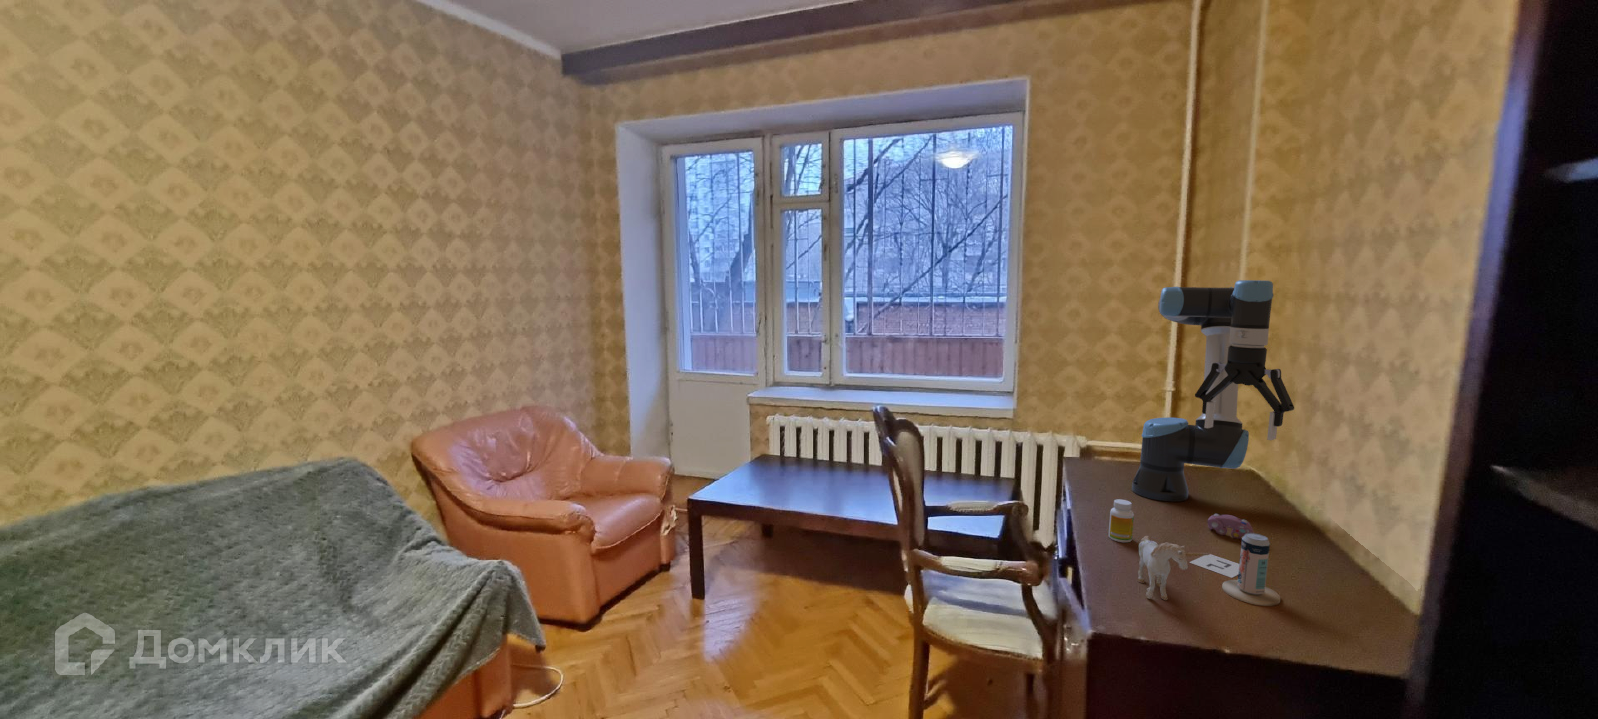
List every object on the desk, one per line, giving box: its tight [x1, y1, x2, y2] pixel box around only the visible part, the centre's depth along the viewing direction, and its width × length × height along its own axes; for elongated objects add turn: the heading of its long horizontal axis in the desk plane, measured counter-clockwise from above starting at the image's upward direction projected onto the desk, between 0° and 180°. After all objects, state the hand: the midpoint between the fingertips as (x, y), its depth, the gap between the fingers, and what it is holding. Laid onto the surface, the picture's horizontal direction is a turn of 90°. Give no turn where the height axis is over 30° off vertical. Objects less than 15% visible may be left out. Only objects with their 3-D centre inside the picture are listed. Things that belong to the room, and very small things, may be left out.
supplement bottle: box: [1108, 498, 1135, 543], centre depth 162 cm, size 5×5×10 cm
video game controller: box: [1206, 513, 1254, 540], centre depth 164 cm, size 10×5×7 cm, turn 48°
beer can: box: [1237, 532, 1271, 595], centre depth 134 cm, size 5×5×12 cm
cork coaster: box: [1221, 579, 1281, 607], centre depth 135 cm, size 10×10×1 cm
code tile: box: [1189, 553, 1239, 579], centre depth 148 cm, size 9×9×1 cm
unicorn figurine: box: [1137, 535, 1211, 601], centre depth 133 cm, size 7×20×13 cm, turn 2°
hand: (1238, 433), depth 154 cm, fingers open, 13 cm apart
